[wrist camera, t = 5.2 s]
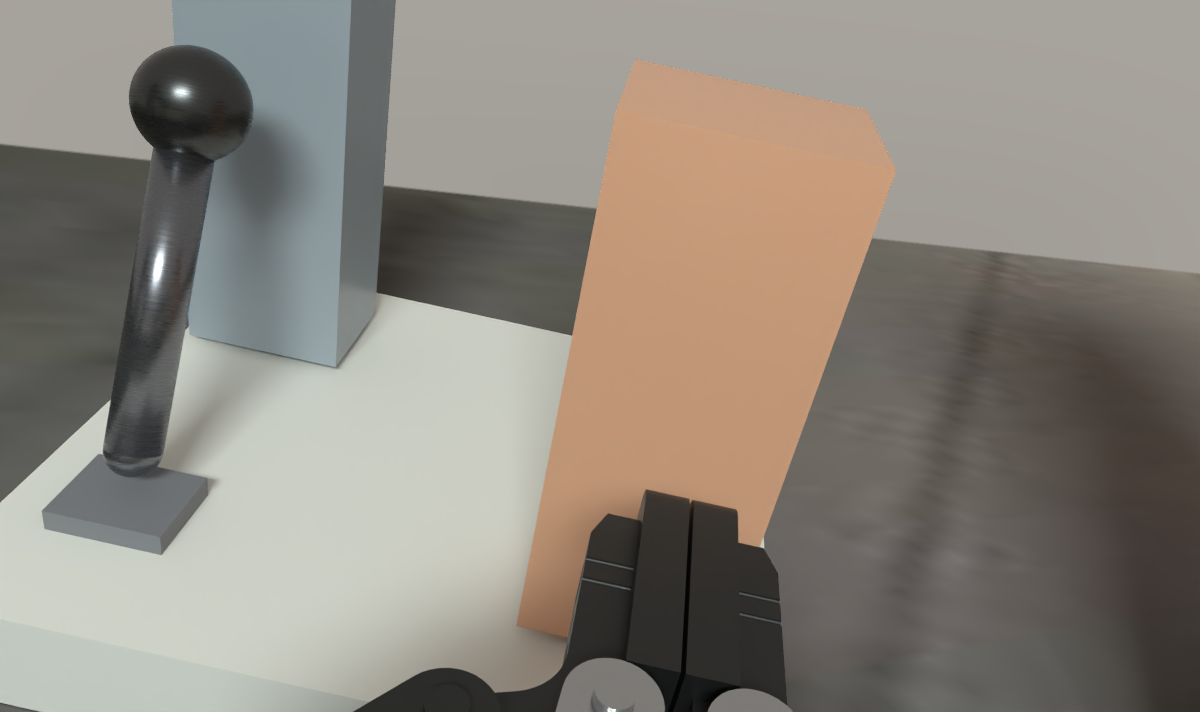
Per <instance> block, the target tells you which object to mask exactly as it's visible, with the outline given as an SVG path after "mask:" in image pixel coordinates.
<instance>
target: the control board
mask: <svg viewBox="0 0 1200 712" xmlns="http://www.w3.org/2000/svg"><path fill="white" fill-rule="evenodd" d="M571 341H572V336H570V335H566V334H561V333H557V332H552V331H548V330H543V329H539V328H534V327H529V326H525V325H520V324H516V323H511V322H507V321H502V320H498V319H493V318H489V317H484V316H480V315H475V314H470V313H466V312H461V311H457V310H452V309H448V308H443V307H439V306H434V305H430V304H425V303H421V302H416V301H411V300H407V299H402V298H398V297H393V296H389V295H384V294H380V293H376V306H375V313H374V315H373V316H372V318H371V319H370V320H369V322H368V323H367V325H366V326H365V327H364V329H363V330H362V331H361V333H360V334H359V336H358V337H357V338H356V340H355V341H354V343H353V344H352V345H351V347H350V348H349V350H348V351H347V352H346V354H345V355H344V356H343V358H342V359H341V361H340V362H339V363H338V365H337V366H336V367H332V366H328V365H323V364H319V363H314V362H310V361H305V360H300V359H296V358H291V357H287V356H282V355H278V354H273V353H269V352H264V351H260V350H255V349H251V348H246V347H242V346H237V345H233V344H228V343H224V342H219V341H215V340H210V339H206V338H201V337H197V336H192V335H189V327H188V328H187V329H186V330H185V334H184V340H183V346H182V351H181V357H180V363H179V368H178V374H177V380H176V386H175V391H174V397H173V403H172V408H171V414H170V420H169V426H168V431H167V437H166V443H165V449H164V454H163V457H162V460H161V462H160V463H159V465H158V466H157V467H156V468H155V469H154V470H153V471H152V472H150V473H148V474H146V475H144V476H141V477H136V478H129V477H123V476H120V475H118V474H116V473H114V472H113V471H112V470H111V469H109V467H108V466H107V465H106V463H105V461H104V458H103V443H104V438H105V432H106V426H107V420H108V414H109V408H110V402H111V400H110V401H109V402H108V403H107V404H106V405H104V406H103V407H102V408H101V409H100V410H99V411H98V412H97V413H96V414H95V415H94V416H93V417H92V418H91V419H89V420H88V421H87V422H86V423H85V424H84V425H83V426H82V427H81V428H80V429H79V430H78V431H77V432H76V433H74V434H73V435H72V436H71V437H70V438H69V439H68V440H67V441H66V442H65V443H64V444H63V445H62V446H61V447H59V448H58V449H57V450H56V451H55V452H54V453H53V454H52V455H51V456H50V457H49V458H48V459H47V460H46V461H44V462H43V463H42V464H41V465H40V466H39V467H38V468H37V469H36V470H35V471H34V472H33V473H32V474H31V475H29V476H28V477H27V478H26V479H25V480H24V481H23V482H22V483H21V484H20V485H19V486H18V487H17V488H16V489H14V490H13V491H12V492H11V493H10V494H9V495H8V496H7V497H6V498H5V499H4V500H3V501H2V502H1V503H0V703H5V704H9V705H13V706H18V707H22V708H27V709H31V710H36V711H40V712H353V711H355V710H357V709H358V708H360V707H362V706H363V705H365V704H367V703H369V702H370V701H372V700H374V699H375V698H377V697H379V696H381V695H382V694H384V693H386V692H387V691H389V690H391V689H392V688H394V687H396V686H398V685H399V684H401V683H403V682H404V681H406V680H408V679H409V678H411V677H413V676H415V675H417V674H419V673H421V672H424V671H427V670H430V669H436V668H455V669H460V670H464V671H467V672H470V673H472V674H474V675H476V676H478V677H479V678H481V679H482V680H484V681H485V682H486V683H487V684H488V685H489V686H490V687H491V688H492V690H493V691H494V692H495V693H497V692H511V691H521V690H527V689H530V688H534V687H536V686H539V685H541V684H543V683H545V682H546V681H548V680H550V679H551V678H552V677H553V676H554V675H555V674H557V673H558V671H559V670H560V669H561V667H562V664H563V659H564V654H565V649H566V644H567V638H568V637H563V636H559V635H554V634H550V633H545V632H541V631H536V630H532V629H527V628H523V627H518V626H516V625H517V620H518V615H519V609H520V604H521V599H522V594H523V589H524V584H525V578H526V573H527V568H528V563H529V558H530V553H531V547H532V542H533V537H534V532H535V527H536V522H537V516H538V511H539V506H540V501H541V496H542V490H543V485H544V480H545V475H546V470H547V465H548V459H549V454H550V449H551V444H552V439H553V434H554V428H555V423H556V418H557V413H558V408H559V403H560V397H561V392H562V387H563V382H564V377H565V372H566V366H567V361H568V356H569V351H570V346H571ZM760 547H761V548H764V537H763V540H762V542H761V545H760Z"/></svg>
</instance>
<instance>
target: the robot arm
mask: <svg viewBox="0 0 1200 712" xmlns="http://www.w3.org/2000/svg"><path fill="white" fill-rule="evenodd" d="M779 600H780V597H779V582H778V573H777V571H776V569H775V568H774V566H773V564H772V562H771V561H770V559H769V557H768V555H767V553H766V552H765V550H764V548H761V547H756V546H752V545H747V544H743V543H738V512H737V510H736V509H733V508H728V507H723V506H719V505H714V504H710V503H705V502H701V501H696V500H692V501H691V503H690V499H688V498H684V497H679V496H675V495H670V494H666V493H661V492H657V491H652V490H648V489H646V490H645V492H644V495H643V498H642V502H641V505H640V509H639V513H638V517H637V520H636V519H631V518H627V517H622V516H618V515H613V514H609V513H608V514H607V515H606V516H605V517H604V518H603V519H602V520H601V522H600V523H599V524H598V525H597V526H596V527H595V528H594V529H593V530H592V531H591V534H590V538H589V543H588V547H587V551H586V555H585V560H584V564H583V568H582V572H581V577H580V581H579V585H578V589H577V594H576V598H575V603H574V608H573V613H572V618H571V623H570V628H569V633H568V638H567V644H566V649H565V654H564V659H563V664H562V667H561V669H560V670H559V671H558V673H557V674H555V675H554V676H553V677H552V678H551V679H550V680H548V681H546V682H545V683H543V684H541V685H539V686H536V687H534V688H530V689H527V690H521V691H511V692H497V693H495V692H494V691H493V690H492V688H491V687H490V686H489V685H488V684H487V683H486V682H485V681H484V680H482V679H481V678H479V677H478V676H476V675H474V674H472V673H470V672H467V671H464V670H460V669H455V668H436V669H430V670H427V671H424V672H421V673H419V674H417V675H415V676H413V677H411V678H409V679H408V680H406V681H404V682H403V683H401V684H399V685H398V686H396V687H394V688H392V689H391V690H389V691H387V692H386V693H384V694H382V695H381V696H379V697H377V698H375V699H374V700H372V701H370V702H369V703H367V704H365V705H363V706H362V707H360V708H358V709H357V710H355V711H353V712H793V711H792V710H791V709H790V708H789V707H788V706H787V698H786V684H785V669H784V655H783V640H782V626H780V623H781V611H780V605H779Z"/></svg>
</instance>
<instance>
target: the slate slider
mask: <svg viewBox="0 0 1200 712" xmlns="http://www.w3.org/2000/svg"><path fill="white" fill-rule="evenodd" d="M395 3H396V0H172V7H173V26H174V46H176V45H194V46H200V47H204V48H207V49H210V50H212V51H214V52H216V53H218V54H220V55H221V56H223V57H225V58H226V59H227V60H228V61H230V62H231V63H232V64H233V65H234V66H235V67H236V68H237V69H238V70H239V71H240V73H241V74H242V75H243V77H244V79H245V80H246V82H247V84H248V86H249V89H250V91H251V95H252V99H253V105H254V115H253V121H252V125H251V128H250V131H249V133H248V135H247V137H246V138H245V140H244V141H243V143H242V144H241V145H240V146H239V147H238V148H237V149H236V150H235V151H233V152H232V153H231V154H229V155H227V156H225V157H223V158H221V159H219V160H216V161H215V163H214V168H213V174H212V180H211V185H210V191H209V197H208V203H207V208H206V214H205V220H204V225H203V231H202V237H201V243H200V248H199V254H198V260H197V265H196V271H195V277H194V283H193V288H192V294H191V300H190V306H189V311H188V317H189V335H192V336H197V337H201V338H206V339H210V340H215V341H219V342H224V343H228V344H233V345H237V346H242V347H246V348H251V349H255V350H260V351H264V352H269V353H273V354H278V355H282V356H287V357H291V358H296V359H300V360H305V361H310V362H314V363H319V364H323V365H328V366H332V367H336V366H337V365H338V363H339V362H340V361H341V359H342V358H343V356H344V355H345V354H346V352H347V351H348V350H349V348H350V347H351V345H352V344H353V343H354V341H355V340H356V338H357V337H358V336H359V334H360V333H361V331H362V330H363V329H364V327H365V326H366V325H367V323H368V322H369V320H370V319H371V318H372V316H373V315H374V313H375V306H376V291H377V275H378V260H379V245H380V230H381V215H382V200H383V185H384V169H385V153H386V138H387V123H388V109H389V94H390V79H391V62H392V48H393V33H394V18H395Z"/></svg>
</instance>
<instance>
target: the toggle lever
mask: <svg viewBox="0 0 1200 712" xmlns="http://www.w3.org/2000/svg"><path fill="white" fill-rule="evenodd" d="M129 105H130V110H131V114H132V117H133V120H134V122H135V124H136V126H137V128H138V130H139V131H140V133H141V134H142V136H143V137H144V138H145V139H146V140H147V141H148V142H149V143H150V144H151V145H152V146H153V152H152V158H151V164H150V170H149V176H148V182H147V188H146V194H145V200H144V206H143V212H142V218H141V223H140V229H139V235H138V241H137V247H136V253H135V259H134V265H133V271H132V277H131V283H130V289H129V295H128V301H127V307H126V313H125V319H124V325H123V331H122V336H121V342H120V348H119V354H118V360H117V366H116V372H115V378H114V384H113V390H112V396H111V402H110V408H109V414H108V420H107V426H106V432H105V438H104V443H103V458H104V461H105V463H106V465H107V466H108V467H109V469H111V470H112V471H113V472H114V473H116V474H118V475H120V476H123V477H129V478H136V477H141V476H144V475H146V474H148V473H150V472H152V471H153V470H154V469H155V468H156V467H157V466H158V465H159V463H160V462H161V460H162V457H163V454H164V449H165V443H166V437H167V431H168V426H169V420H170V414H171V408H172V403H173V397H174V391H175V386H176V380H177V374H178V368H179V363H180V357H181V351H182V346H183V340H184V334H185V328H186V323H187V317H188V311H189V306H190V300H191V294H192V288H193V283H194V277H195V271H196V265H197V260H198V254H199V248H200V243H201V237H202V231H203V225H204V220H205V214H206V208H207V203H208V197H209V191H210V185H211V180H212V174H213V168H214V163H215V161H216V160H219V159H221V158H223V157H225V156H227V155H229V154H231V153H232V152H233V151H235V150H236V149H237V148H238V147H239V146H240V145H241V144H242V143H243V141H244V140H245V138H246V137H247V135H248V133H249V131H250V128H251V125H252V121H253V115H254V105H253V99H252V95H251V91H250V89H249V86H248V84H247V82H246V80H245V79H244V77H243V75H242V74H241V73H240V71H239V70H238V69H237V68H236V67H235V66H234V65H233V64H232V63H231V62H230V61H228V60H227V59H226V58H225V57H223V56H221V55H220V54H218V53H216V52H214V51H212V50H210V49H207V48H204V47H200V46H194V45H176V46H170V47H167V48H164V49H161V50H159V51H157V52H155V53H154V54H152V55H151V56H149V57H148V58H147V59H146V60H145V61H143V63H142V64H141V65H140V66H139V67H138V69H137V71H136V72H135V74H134V76H133V79H132V81H131V85H130V91H129Z"/></svg>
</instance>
